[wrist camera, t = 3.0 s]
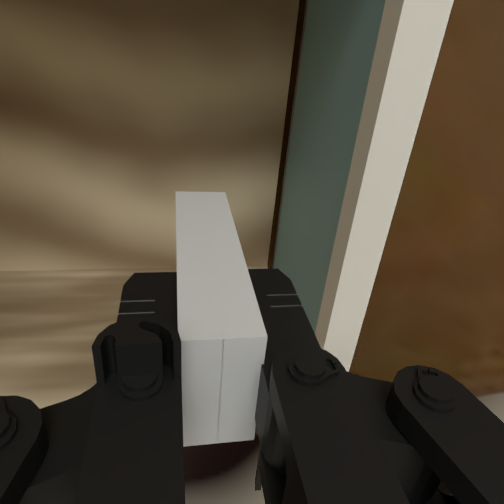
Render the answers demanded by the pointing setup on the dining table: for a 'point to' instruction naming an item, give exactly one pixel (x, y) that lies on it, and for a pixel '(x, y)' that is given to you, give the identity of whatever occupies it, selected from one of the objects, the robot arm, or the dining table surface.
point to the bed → (124, 158)
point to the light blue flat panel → (351, 151)
